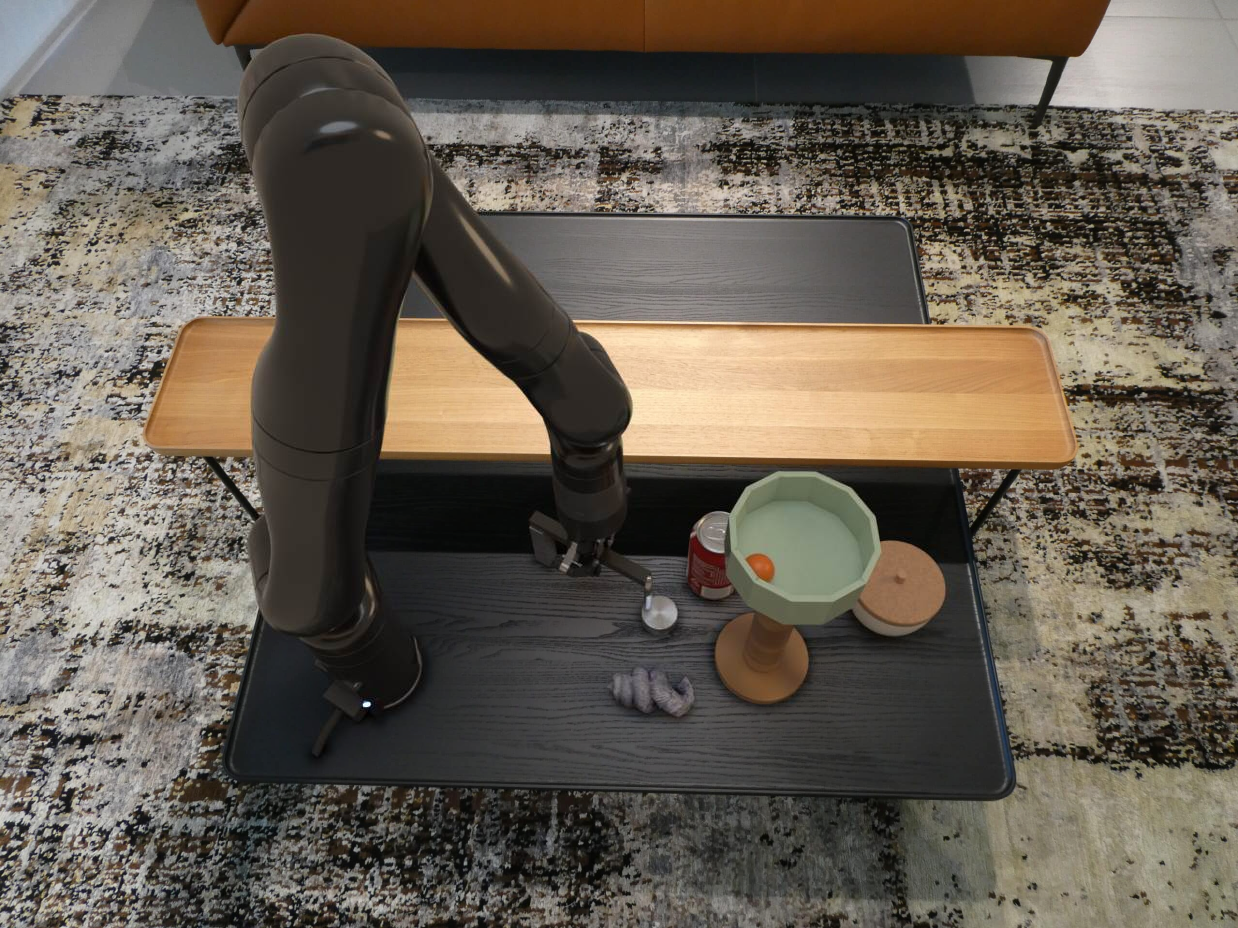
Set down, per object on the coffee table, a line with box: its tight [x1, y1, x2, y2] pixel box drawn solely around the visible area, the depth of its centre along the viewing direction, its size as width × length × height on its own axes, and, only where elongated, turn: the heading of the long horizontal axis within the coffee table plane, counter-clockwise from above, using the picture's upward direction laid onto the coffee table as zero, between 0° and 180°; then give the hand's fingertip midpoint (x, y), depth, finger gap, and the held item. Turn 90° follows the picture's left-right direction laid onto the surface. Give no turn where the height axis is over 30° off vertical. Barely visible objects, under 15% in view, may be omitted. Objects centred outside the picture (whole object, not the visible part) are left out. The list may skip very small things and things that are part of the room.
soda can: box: [685, 510, 737, 601], centre depth 102 cm, size 7×7×12 cm
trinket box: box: [850, 540, 946, 637], centre depth 100 cm, size 11×11×9 cm
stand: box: [714, 610, 810, 705], centre depth 90 cm, size 11×11×26 cm
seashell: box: [607, 664, 695, 718], centre depth 96 cm, size 5×5×10 cm
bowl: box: [724, 470, 882, 626], centre depth 77 cm, size 13×13×5 cm
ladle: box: [528, 510, 679, 636], centre depth 102 cm, size 20×4×10 cm, turn 59°
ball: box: [745, 553, 775, 583], centre depth 76 cm, size 3×3×3 cm
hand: (597, 564), depth 101 cm, fingers closed on ladle
